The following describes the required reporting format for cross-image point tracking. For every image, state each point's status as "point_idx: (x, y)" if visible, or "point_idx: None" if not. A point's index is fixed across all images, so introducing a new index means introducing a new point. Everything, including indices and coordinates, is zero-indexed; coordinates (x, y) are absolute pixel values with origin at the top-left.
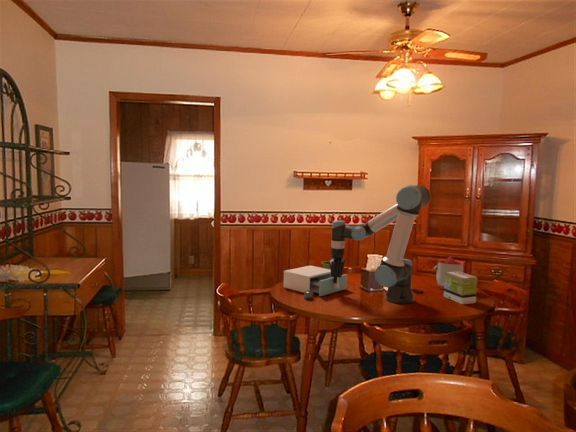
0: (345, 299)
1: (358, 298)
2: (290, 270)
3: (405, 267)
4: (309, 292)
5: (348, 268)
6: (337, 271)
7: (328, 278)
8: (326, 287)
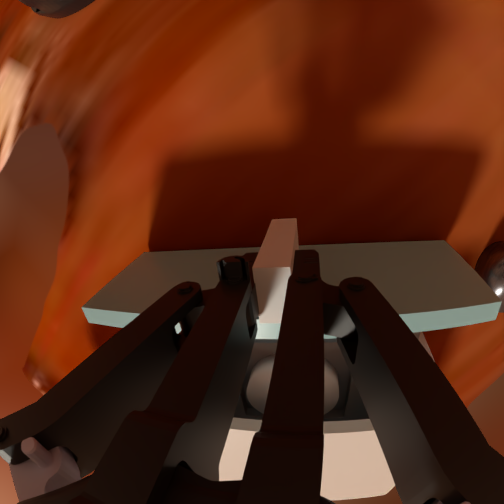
0: (352, 72)
1: (242, 34)
2: (360, 494)
3: None
4: None
5: (39, 385)
6: (295, 334)
7: None
8: (403, 268)
